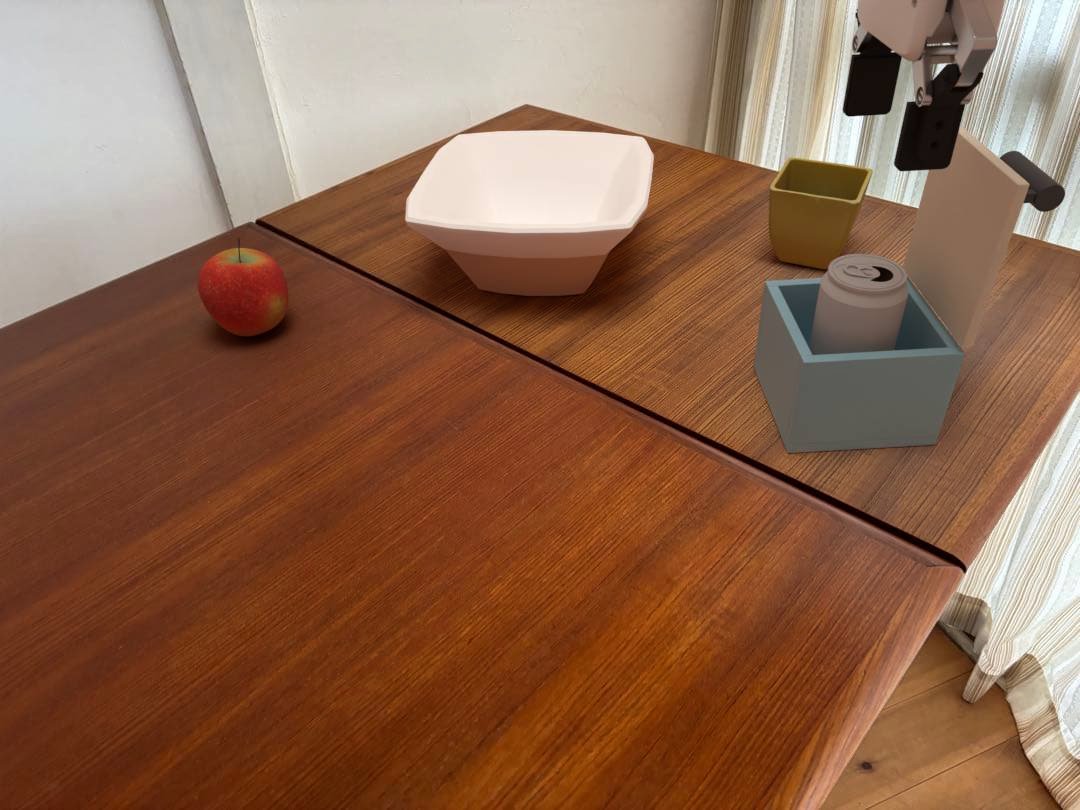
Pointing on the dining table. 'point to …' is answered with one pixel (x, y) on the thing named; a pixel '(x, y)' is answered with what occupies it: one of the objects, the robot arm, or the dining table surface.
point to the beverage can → (859, 305)
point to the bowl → (532, 205)
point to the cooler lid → (971, 229)
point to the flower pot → (814, 209)
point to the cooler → (853, 376)
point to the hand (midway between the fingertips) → (891, 139)
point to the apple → (243, 291)
